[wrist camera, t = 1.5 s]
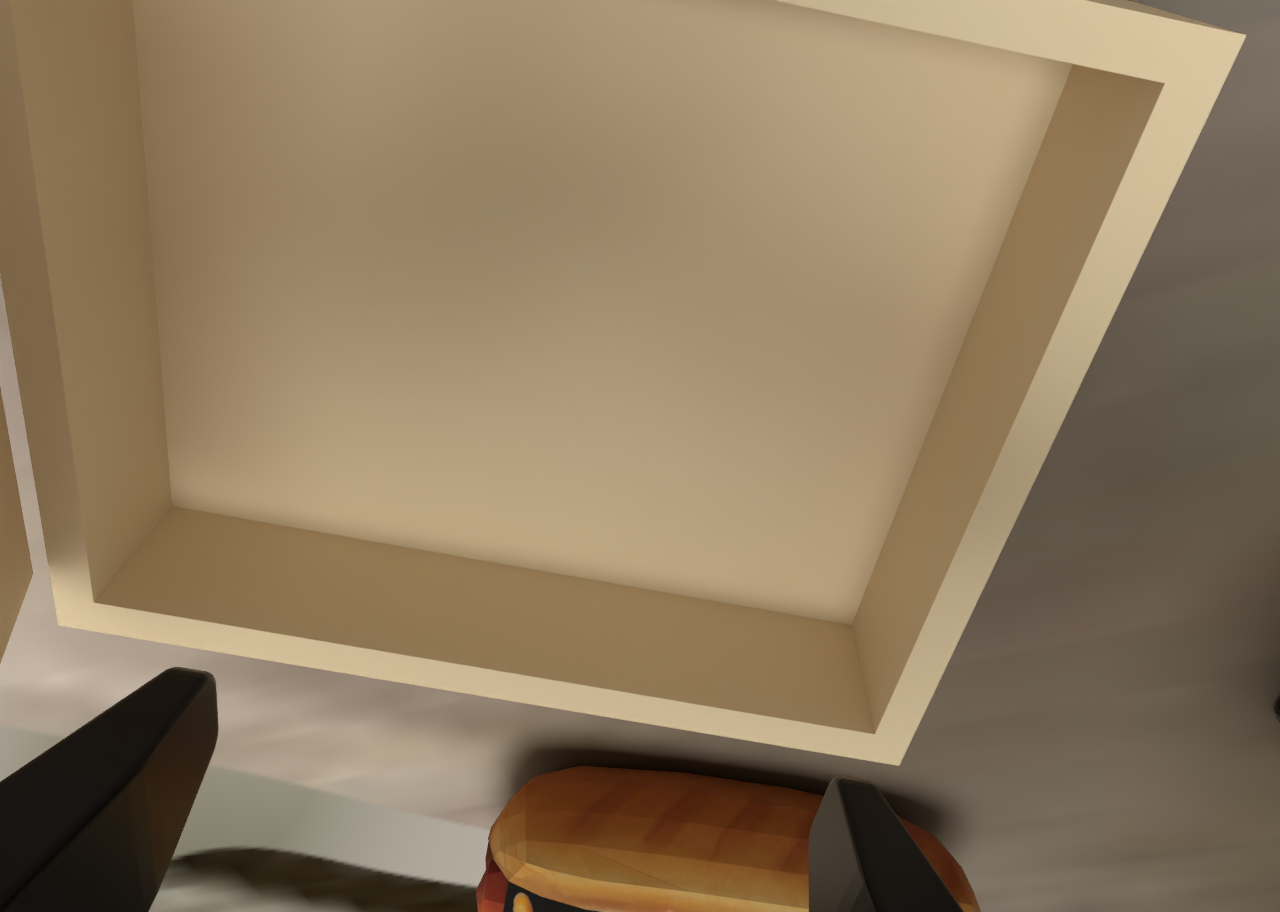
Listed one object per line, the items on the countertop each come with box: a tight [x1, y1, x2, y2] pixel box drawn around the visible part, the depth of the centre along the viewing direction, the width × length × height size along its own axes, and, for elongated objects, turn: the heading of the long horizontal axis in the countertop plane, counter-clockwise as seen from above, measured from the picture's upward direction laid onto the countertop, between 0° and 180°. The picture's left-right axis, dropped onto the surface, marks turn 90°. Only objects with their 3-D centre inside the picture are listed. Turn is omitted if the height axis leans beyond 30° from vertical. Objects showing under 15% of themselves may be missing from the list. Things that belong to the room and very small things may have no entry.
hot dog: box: [476, 766, 981, 912], centre depth 26 cm, size 5×13×5 cm, turn 81°
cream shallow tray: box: [0, 0, 1246, 766], centre depth 19 cm, size 18×15×4 cm
